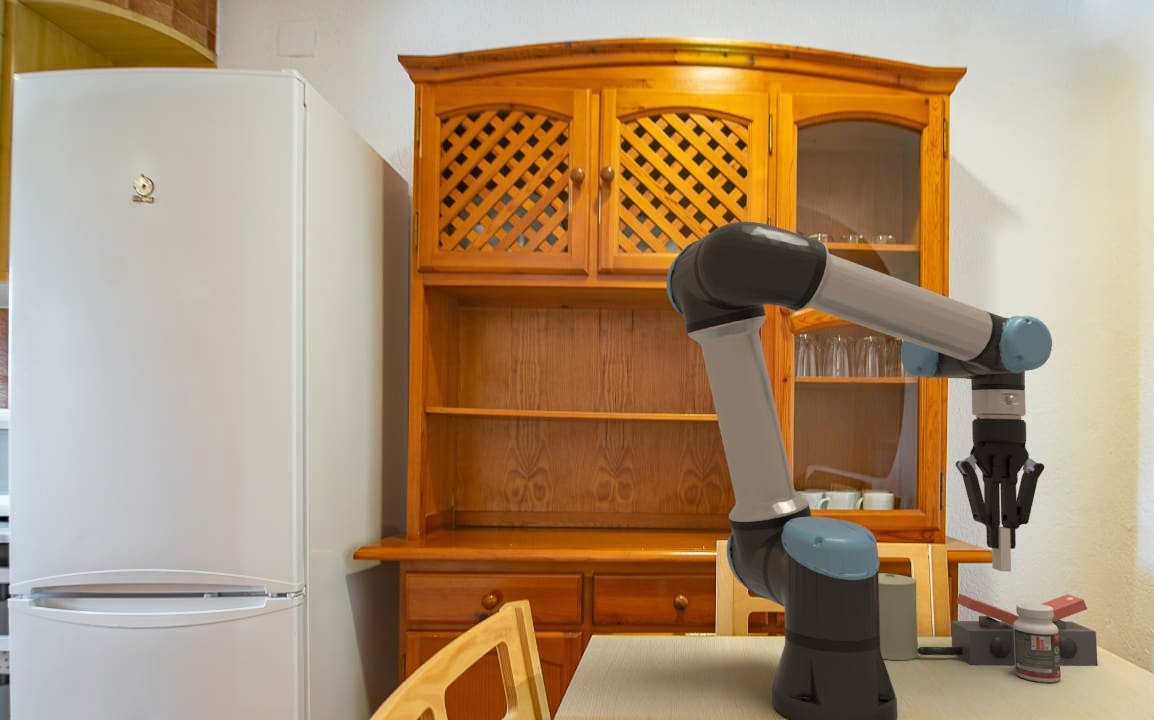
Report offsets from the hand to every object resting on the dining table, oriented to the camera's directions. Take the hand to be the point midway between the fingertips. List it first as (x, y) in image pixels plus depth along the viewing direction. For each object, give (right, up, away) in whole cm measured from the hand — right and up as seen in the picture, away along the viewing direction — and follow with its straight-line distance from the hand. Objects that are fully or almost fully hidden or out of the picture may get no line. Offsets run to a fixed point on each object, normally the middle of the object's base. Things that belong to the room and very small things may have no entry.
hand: (1001, 569), depth 123 cm
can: (-17, -14, +3) cm, 22 cm away
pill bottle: (0, -13, -10) cm, 16 cm away
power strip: (0, -14, -1) cm, 14 cm away
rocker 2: (+8, -6, 0) cm, 10 cm away
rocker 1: (-2, -6, 0) cm, 7 cm away
